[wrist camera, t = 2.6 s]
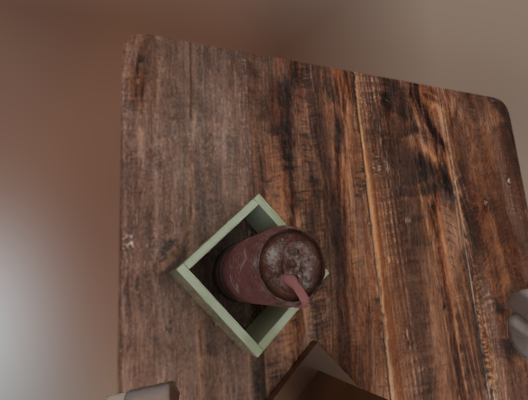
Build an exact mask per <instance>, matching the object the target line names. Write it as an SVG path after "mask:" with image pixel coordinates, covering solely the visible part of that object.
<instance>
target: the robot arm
mask: <svg viewBox="0 0 528 400" xmlns="http://www.w3.org/2000/svg"><path fill="white" fill-rule="evenodd" d="M508 307H509V308H510V309H511V310H512V311H513V312H514V313H513V314H512V316H511V317H510V319H509V321H508V334H509V336H510V339H511V341H512V344H513V345H514V347H515V348H516V349H517V351H518V352H519V353H520V354H521V355H522V356H523V357H524V358H525V359H526V360H527V361H528V287H527V288H523V289H519V290H516V291H512V292H511V294H510V296H509V298H508ZM179 394H180V393H179V390H178V388H177V386H176V383H175V382H174V381H168V382H164V383H160V384H155V385H151V386H147V387H143V388H138V389H134V390H130V391H128V392H124V393H119V394H115V395H111V396H107V397H106V398H105V399H104V400H179Z"/></svg>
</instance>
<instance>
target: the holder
mask: <svg viewBox="0 0 528 400" xmlns="http://www.w3.org/2000/svg"><path fill="white" fill-rule="evenodd" d="M243 219H245V220H246V221H247V222H248V223H249V225H250V226H251V227H252V228H253V229H254V230H255V231H256V232H257V233H258V234H259V233H261V232H263V231H266V230H268V229H270V228H273V227H277V226H282V225H286V224H285V222H284V221H283V220H282V219H281V218H280V217H279V216H278V214H277V213H276V212H275V211H274V210H273V209H272V208H271V207H270V205H269V204H268V203H267V202H266V201H265V200H264V199H263V198H262V196H261V195H260V194H258V195H256V196H255V197H254V198H252V199H251V200H250V201H248V202H247V203H246V204H244V205H243V206H241V207H240V208H239V209H238V210H237V211H236V212H235V213H234V214H233V215H232V216H231V217H229V218H228V219H227V220H226V221H225V222H224V223H223V224H222V225H221V226H220V227H218V228H217V229H216V230H215V231H214V232H213V233H212V234H211V235H210V236H209V237H207V238H206V239H205V240H204V241H203V242H202V243H201V244H200V245H199V246H198V247H197V248H195V249H194V250H193V251H192V252H191V253H190V254H189V255H188V256H187V257H186V258H184V259H183V260H182V261H181V262H180V263H179V264H178V265H177V266H176V267H175V268H173V269H172V270H171V271H170V274H171V275H172V276H173V277H174V278H175V279H176V280H177V281H178V282H179V284H180V285H181V286H182V287H183V288H184V289H185V290H186V291H187V292H188V293H189V294H190V295H191V297H192V298H193V299H194V300H195V301H196V302H197V303H198V304H199V305H200V306H201V307H202V308H203V310H204V311H205V312H206V313H207V314H208V315H209V316H210V317H211V318H212V319H213V320H214V321H215V323H216V324H217V325H218V326H219V327H220V328H221V329H222V330H223V331H224V332H225V333H226V334H227V336H228V337H229V338H230V339H231V340H232V341H233V342H234V343H235V344H236V345H237V346H238V347H239V348H240V349H242V350H244V351H246V352H248V353H250V354H252V355H253V356H255V357H257V358H258V357H259V356H260V355H261V353H262V352H263V350H265V349H266V347H267V346H268V345H269V344H270V343H271V341H272V340H273V339H274V338H275V337H276V335H277V334H278V333H279V332H280V331H281V330H282V328H283V327H284V326H285V325H286V324H287V322H288V321H289V320H290V319H291V318H292V317H293V315H294V314H295V313H296V312H297V311H298V309H299V308H294V307H292V308H290V307H278V306H269V305H267V306H266V307H265V308H264V310H263V311H262V312H261V313H260V314H259V315H258V316H257V317H256V318H255V320H254V321H253V322H252V323H251V324H250V325H249V326H248V327H247V329H246V330H244V329H243V328H242V327H241V326H240V324H239V323H238V322H237V321H236V320H235V319H234V318H233V317H232V316H231V315H230V314H229V312H228V311H227V310H226V309H225V308H224V307H223V306H222V305H221V304H220V303H219V302H218V300H217V299H216V298H215V297H214V296H213V295H212V294H211V293H210V292H209V291H208V290H207V288H206V287H205V286H204V285H203V284H202V283H201V282H200V281H199V280H198V279H197V278H196V277H195V275H194V274H193V273H192V272H191V271H190V270H189V269H191V268H192V267H193V266H194V265H195V264H196V263H197V262H198V261H199V260H200V259H201V258H202V257H203V256H204V255H206V254H207V253H208V252H209V251H210V250H211V249H212V248H213V247H214V246H215V245H216V244H217V243H218V242H219V241H221V240H222V239H223V238H224V237H225V236H226V235H227V234H228V233H229V232H230V231H231V230H232V229H233V228H234V227H235V226H237V225H238V224H239V223H240V222H241V221H242V220H243ZM328 274H329V272H328V271H327V270H325V277H326V276H327V275H328ZM325 277H324V278H325Z"/></svg>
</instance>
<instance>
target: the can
mask: <svg viewBox="0 0 528 400" xmlns="http://www.w3.org/2000/svg"><path fill="white" fill-rule="evenodd" d="M325 270H326V262H325V258H324V253H323V251H322V249H321V247H320V245H319V244H318V242H317V241H316V240H315V239H314V238H313V237H312V236H311V235H310V234H308V233H307V232H305V231H304V230H302V229H300V228H298V227H295V226H288V225H282V226H277V227H273V228H270V229H268V230H266V231H263V232H261V233H259V234H256V235H254V236H252V237H250V238H247V239H245V240H243V241H240V242H238V243H236V244H233V245H231V246H229V247H228V248H226V249H224V250H223V251H222V252H221V253H220V254H219V256H218V257H217V259H216V262H215V264H214V269H213V277H214V282H215V285H216V287H217V288H218V290H219V292H220V293H221V294H222V295H223V296H224V297H226V298H227V299H230V300H232V301H234V302H243V303H252V304H260V305H269V306H278V307H290V308H292V307H294V308H305V307H307V305H308V303H309V300H310V299H311V298H313V296H314V295H315V294H316V292H317V291H318V290H319V288H320V287H321V285H322V283H323V280H324V277H325Z"/></svg>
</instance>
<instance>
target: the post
mask: <svg viewBox="0 0 528 400" xmlns="http://www.w3.org/2000/svg"><path fill="white" fill-rule="evenodd" d="M266 400H387V399H385V398H382V397H380V396H378V395H375V394H373V393H370V392H368V391H366V390H363V389H361V388H359V387H358V386H357V385H356V384H355V383H354V381H353V380H352V379H351V378H350V377H349V376H348V375H347V374H346V373H345V371H344V370H343V369H342V368H341V367H340V366H339V365H338V364H337V363H336V361H335V360H334V359H333V358H332V357H331V356H330V355H329V354H328V353H327V351H326V350H325V349H324V348H323V347H322V346H321V345H320V344H319V343H318V342H316V341H312V342H311V343H310V345H309V346H308V347H307V348H306V350H305V351H304V352H303V354H302V355H301V356H300V357H299V359H298V360H297V361H296V363H295V364H294V365H293V366H292V368H291V369H290V370H289V371H288V373H287V374H286V375H285V377H284V378H283V379H282V380H281V382H280V383H279V384H278V385H277V387H276V388H275V389H274V391H273V392H272V393H271V394H270V396H269V397H268V398H267V399H266Z"/></svg>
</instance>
